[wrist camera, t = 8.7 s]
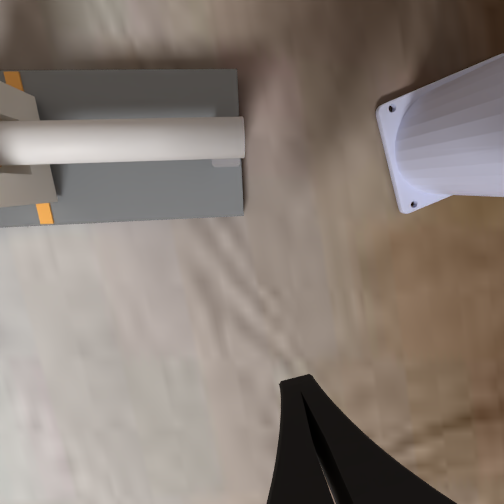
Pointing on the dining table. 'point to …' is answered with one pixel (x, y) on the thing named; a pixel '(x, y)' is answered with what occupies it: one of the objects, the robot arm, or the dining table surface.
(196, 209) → the pipe stand
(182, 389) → the dining table surface
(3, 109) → the collar
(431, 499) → the robot arm
